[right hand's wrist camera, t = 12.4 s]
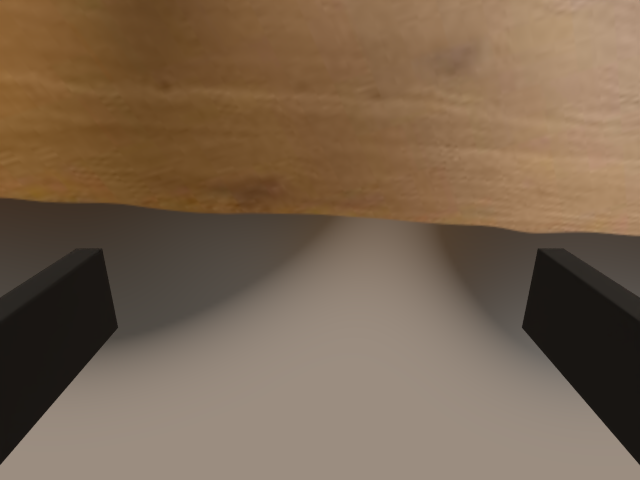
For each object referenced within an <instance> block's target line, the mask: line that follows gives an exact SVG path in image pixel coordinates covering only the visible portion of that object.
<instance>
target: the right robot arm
mask: <svg viewBox="0 0 640 480" xmlns="http://www.w3.org/2000/svg"><path fill="white" fill-rule="evenodd" d="M117 328H118V325H117V321H116V315H115V310H114V305H113V300H112V296H111V291H110V286H109V281H108V276H107V271H106V266H105V261H104V256H103V251H102V249H75V250H74V251H72V252H70V253H69V254H67V255H66V256H64V257H63V258H61V259H60V260H58V261H56V262H55V263H53V264H52V265H50V266H49V267H47V268H46V269H44V270H42V271H41V272H39V273H38V274H36V275H35V276H33V277H32V278H30V279H29V280H27V281H26V282H24V283H22V284H21V285H19V286H18V287H16V288H15V289H13V290H11V291H10V292H8V293H7V294H5V295H4V296H2V297H1V298H0V464H1V463H2V462H3V461H4V460H5V459H6V457H7V456H8V455H9V454H10V453H11V452H12V451H13V449H14V448H15V447H16V446H17V445H18V444H19V442H20V441H21V440H22V439H23V438H24V437H25V435H26V434H27V433H28V432H29V431H30V430H31V428H32V427H33V426H34V425H35V424H36V423H37V421H38V420H39V419H40V418H41V417H42V416H43V414H44V413H45V412H46V411H47V410H48V409H49V407H50V406H51V405H52V404H53V403H54V402H55V400H56V399H57V398H58V397H59V396H60V395H61V393H62V392H63V391H64V390H65V389H66V388H67V386H68V385H69V384H70V383H71V382H72V381H73V379H74V378H75V377H76V376H77V375H78V374H79V372H80V371H81V370H82V369H83V368H84V367H85V365H86V364H87V363H88V362H89V361H90V360H91V358H92V357H93V356H94V355H95V354H96V353H97V351H98V350H99V349H100V348H101V347H102V346H103V344H104V343H105V342H106V341H107V340H108V339H109V337H110V336H111V335H112V334H113V333H114V332H115V330H116V329H117ZM522 328H523V329H524V330H525V332H526V333H527V334H528V335H529V336H530V337H531V339H532V340H533V341H534V342H535V343H536V344H537V346H538V347H539V348H540V349H541V350H542V351H543V353H544V354H545V355H546V356H547V357H548V358H549V360H550V361H551V362H552V363H553V364H554V365H555V367H556V368H557V369H558V370H559V371H560V372H561V374H562V375H563V376H564V377H565V378H566V379H567V381H568V382H569V383H570V384H571V385H572V386H573V388H574V389H575V390H576V391H577V392H578V393H579V395H580V396H581V397H582V398H583V399H584V400H585V402H586V403H587V404H588V405H589V406H590V407H591V409H592V410H593V411H594V412H595V413H596V414H597V416H598V417H599V418H600V419H601V420H602V421H603V423H604V424H605V425H606V426H607V427H608V428H609V430H610V431H611V432H612V433H613V434H614V435H615V437H616V438H617V439H618V440H619V441H620V442H621V444H622V445H623V446H624V447H625V448H626V449H627V451H628V452H629V453H630V454H631V455H632V456H633V458H634V459H635V460H636V461H637V462H638V463H639V464H640V298H639V297H638V296H636V295H635V294H633V293H632V292H630V291H629V290H627V289H625V288H624V287H622V286H621V285H619V284H618V283H616V282H615V281H613V280H611V279H610V278H608V277H607V276H605V275H604V274H602V273H601V272H599V271H597V270H596V269H594V268H593V267H591V266H590V265H588V264H587V263H585V262H584V261H582V260H580V259H579V258H577V257H576V256H574V255H573V254H571V253H570V252H568V251H566V250H565V249H538V251H537V256H536V261H535V266H534V271H533V276H532V281H531V286H530V291H529V296H528V300H527V305H526V311H525V315H524V320H523V325H522Z"/></svg>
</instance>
